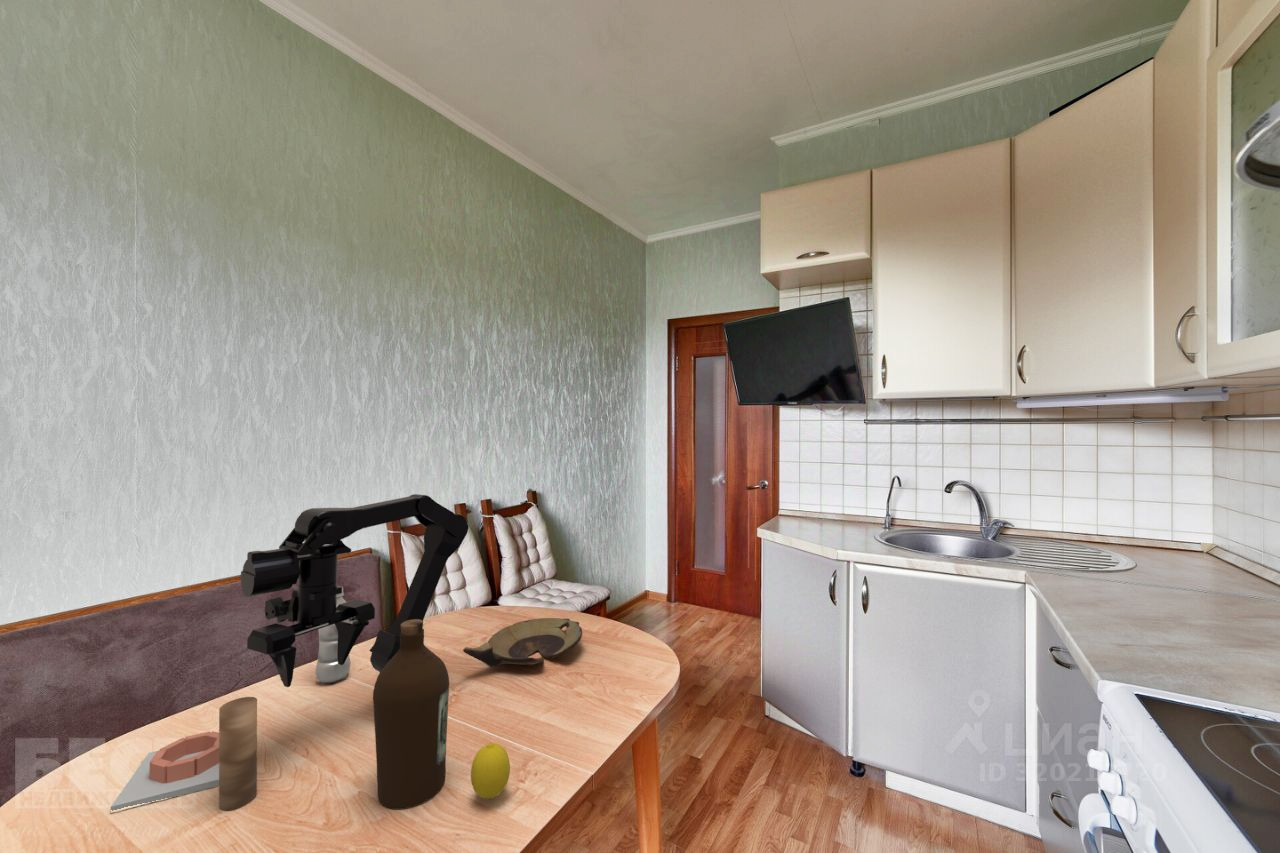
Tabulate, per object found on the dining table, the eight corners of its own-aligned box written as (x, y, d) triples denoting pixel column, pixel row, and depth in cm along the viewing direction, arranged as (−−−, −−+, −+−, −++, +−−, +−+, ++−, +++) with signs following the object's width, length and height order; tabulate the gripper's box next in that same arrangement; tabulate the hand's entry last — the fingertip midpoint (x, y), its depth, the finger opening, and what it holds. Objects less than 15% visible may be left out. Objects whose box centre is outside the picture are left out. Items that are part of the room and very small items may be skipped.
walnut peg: (259, 785, 78) (259, 694, 79) (253, 804, 74) (253, 707, 75) (223, 795, 76) (223, 701, 76) (215, 815, 72) (215, 715, 73)
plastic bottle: (308, 684, 110) (308, 591, 111) (337, 670, 117) (337, 582, 117) (329, 689, 108) (329, 594, 108) (357, 675, 114) (357, 585, 115)
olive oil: (368, 821, 71) (368, 640, 71) (377, 774, 81) (377, 615, 81) (449, 801, 75) (449, 629, 75) (449, 758, 85) (448, 607, 85)
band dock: (252, 735, 92) (252, 715, 92) (233, 781, 79) (233, 759, 79) (148, 758, 85) (148, 737, 85) (110, 813, 73) (110, 789, 73)
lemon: (475, 786, 78) (475, 733, 78) (512, 784, 78) (512, 731, 78) (466, 813, 72) (466, 756, 72) (506, 810, 73) (506, 754, 73)
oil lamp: (599, 662, 120) (599, 629, 120) (467, 693, 106) (466, 656, 106) (567, 630, 140) (567, 602, 140) (451, 653, 126) (451, 621, 126)
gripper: (338, 566, 100) (336, 647, 99) (228, 590, 83) (225, 688, 82) (378, 572, 95) (376, 657, 94) (270, 600, 78) (267, 704, 77)
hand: (315, 674), depth 87 cm, fingers open, 9 cm apart
